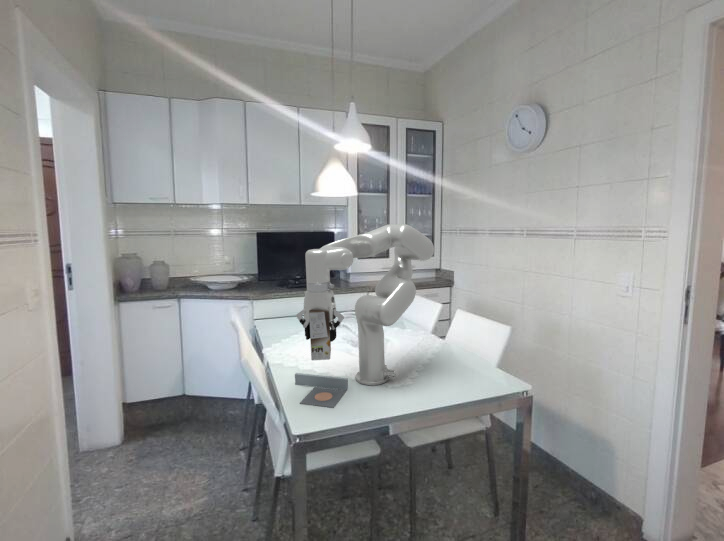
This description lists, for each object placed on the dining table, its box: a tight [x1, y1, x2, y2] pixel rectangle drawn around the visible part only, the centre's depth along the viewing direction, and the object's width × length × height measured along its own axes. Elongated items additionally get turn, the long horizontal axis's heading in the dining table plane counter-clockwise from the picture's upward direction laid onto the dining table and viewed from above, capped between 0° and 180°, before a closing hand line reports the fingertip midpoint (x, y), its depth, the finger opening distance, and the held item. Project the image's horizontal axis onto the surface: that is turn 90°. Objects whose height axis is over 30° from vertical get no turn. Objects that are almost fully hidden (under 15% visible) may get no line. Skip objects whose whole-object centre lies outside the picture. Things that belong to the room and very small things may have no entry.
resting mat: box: [299, 387, 347, 409], centre depth 131 cm, size 12×12×1 cm
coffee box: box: [309, 310, 332, 361], centre depth 127 cm, size 9×6×16 cm
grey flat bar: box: [294, 372, 349, 391], centre depth 139 cm, size 20×1×4 cm, turn 73°
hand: (320, 339), depth 128 cm, fingers closed on coffee box, 8 cm apart
